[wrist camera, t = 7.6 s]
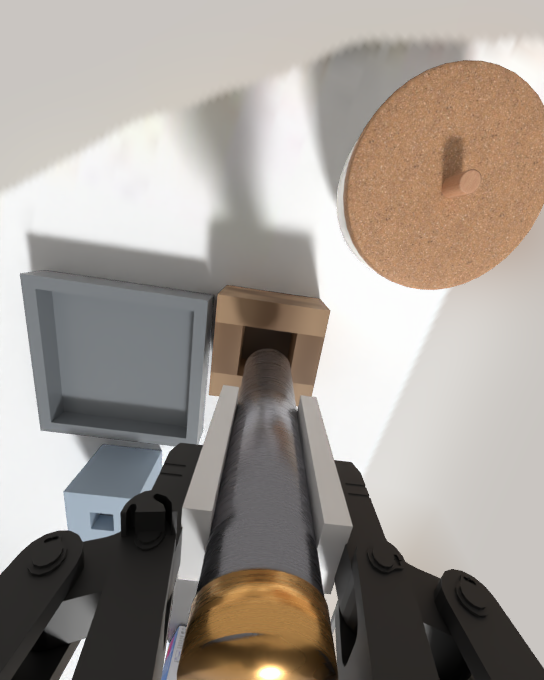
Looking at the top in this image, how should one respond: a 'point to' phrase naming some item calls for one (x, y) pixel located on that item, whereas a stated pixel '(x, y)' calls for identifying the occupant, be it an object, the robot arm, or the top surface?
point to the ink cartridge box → (173, 655)
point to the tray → (118, 357)
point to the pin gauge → (261, 549)
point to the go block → (267, 335)
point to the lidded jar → (445, 176)
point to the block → (108, 489)
